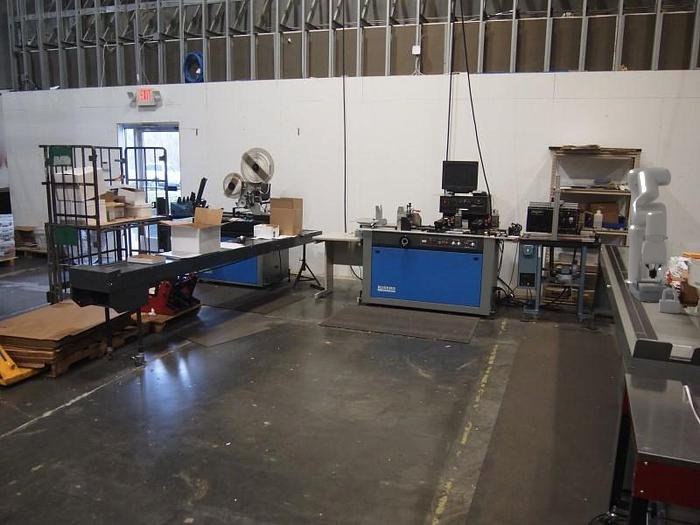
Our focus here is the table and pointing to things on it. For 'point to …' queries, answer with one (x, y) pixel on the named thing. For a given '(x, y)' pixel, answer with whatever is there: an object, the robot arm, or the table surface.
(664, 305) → the padlock
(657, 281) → the chassis
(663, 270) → the cable arm
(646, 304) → the table surface
